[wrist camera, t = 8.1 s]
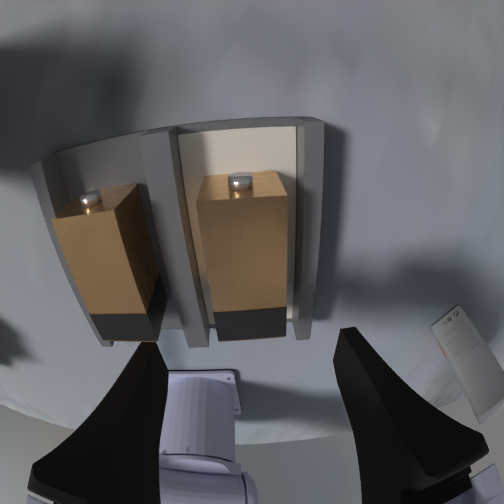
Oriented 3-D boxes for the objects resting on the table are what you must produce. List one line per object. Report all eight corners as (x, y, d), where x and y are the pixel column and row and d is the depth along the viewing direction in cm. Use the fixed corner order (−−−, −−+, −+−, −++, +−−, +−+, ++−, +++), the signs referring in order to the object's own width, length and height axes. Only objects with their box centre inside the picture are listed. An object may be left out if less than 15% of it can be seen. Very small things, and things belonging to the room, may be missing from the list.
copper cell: (277, 295, 21) (285, 337, 17) (220, 299, 20) (218, 342, 17) (276, 160, 16) (288, 182, 12) (202, 165, 15) (192, 189, 12)
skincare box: (428, 326, 25) (477, 418, 15) (458, 302, 24) (515, 388, 14) (439, 347, 28) (479, 426, 18) (465, 326, 27) (511, 401, 16)
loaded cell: (168, 300, 20) (158, 342, 17) (119, 302, 20) (103, 341, 17) (137, 173, 15) (111, 198, 12) (80, 183, 15) (47, 210, 12)
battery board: (303, 315, 23) (309, 338, 21) (110, 324, 22) (101, 346, 20) (311, 116, 15) (324, 121, 13) (51, 153, 15) (29, 164, 12)
